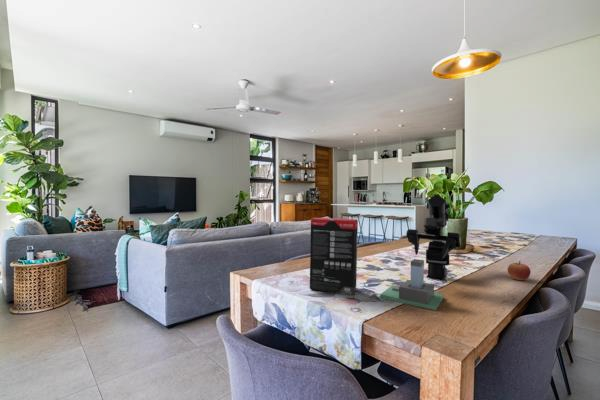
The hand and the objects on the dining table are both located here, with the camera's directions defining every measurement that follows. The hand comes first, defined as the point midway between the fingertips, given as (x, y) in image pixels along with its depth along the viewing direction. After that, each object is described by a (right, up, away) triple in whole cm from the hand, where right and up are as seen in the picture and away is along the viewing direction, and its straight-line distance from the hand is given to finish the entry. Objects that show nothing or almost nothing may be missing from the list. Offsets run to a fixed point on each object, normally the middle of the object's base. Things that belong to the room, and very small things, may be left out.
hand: (429, 255), depth 107 cm
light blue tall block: (-8, -13, -8) cm, 17 cm away
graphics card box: (-35, -14, +2) cm, 38 cm away
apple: (+46, -14, +17) cm, 51 cm away
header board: (-9, -14, -6) cm, 17 cm away
